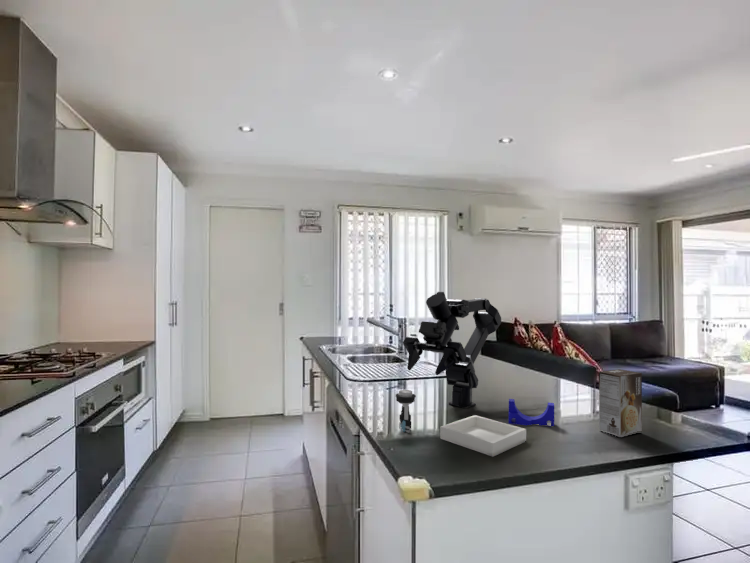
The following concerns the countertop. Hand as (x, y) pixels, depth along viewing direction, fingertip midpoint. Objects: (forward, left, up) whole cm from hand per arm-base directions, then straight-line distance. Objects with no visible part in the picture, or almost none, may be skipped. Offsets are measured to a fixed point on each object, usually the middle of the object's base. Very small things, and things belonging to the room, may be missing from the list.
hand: (422, 371), depth 119 cm
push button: (+8, +1, -14) cm, 16 cm away
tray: (-2, +19, -14) cm, 24 cm away
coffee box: (-35, +39, -14) cm, 55 cm away
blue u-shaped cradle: (-23, +20, -15) cm, 34 cm away
